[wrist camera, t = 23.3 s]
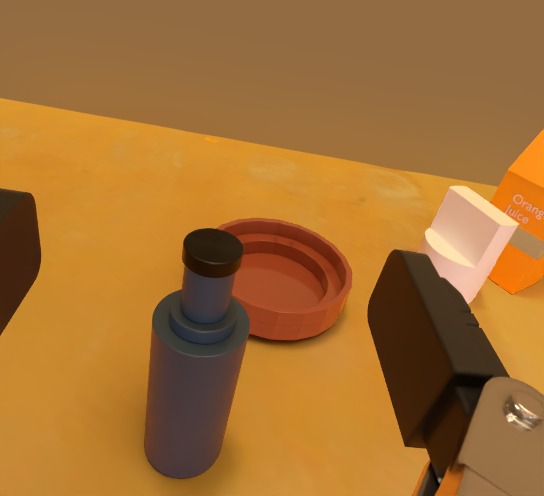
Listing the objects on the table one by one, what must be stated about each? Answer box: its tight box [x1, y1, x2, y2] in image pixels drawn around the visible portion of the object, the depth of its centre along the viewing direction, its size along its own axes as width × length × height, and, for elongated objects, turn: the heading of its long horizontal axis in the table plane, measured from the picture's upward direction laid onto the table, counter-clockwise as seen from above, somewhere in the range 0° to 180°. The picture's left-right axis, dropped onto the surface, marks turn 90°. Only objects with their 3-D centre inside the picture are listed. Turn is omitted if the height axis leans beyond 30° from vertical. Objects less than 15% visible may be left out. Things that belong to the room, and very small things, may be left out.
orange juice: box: [488, 129, 544, 295], centre depth 59 cm, size 8×9×20 cm
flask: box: [144, 228, 250, 478], centre depth 29 cm, size 6×6×18 cm
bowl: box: [216, 218, 352, 340], centre depth 49 cm, size 16×16×4 cm
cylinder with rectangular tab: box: [416, 186, 519, 304], centre depth 55 cm, size 9×9×12 cm
